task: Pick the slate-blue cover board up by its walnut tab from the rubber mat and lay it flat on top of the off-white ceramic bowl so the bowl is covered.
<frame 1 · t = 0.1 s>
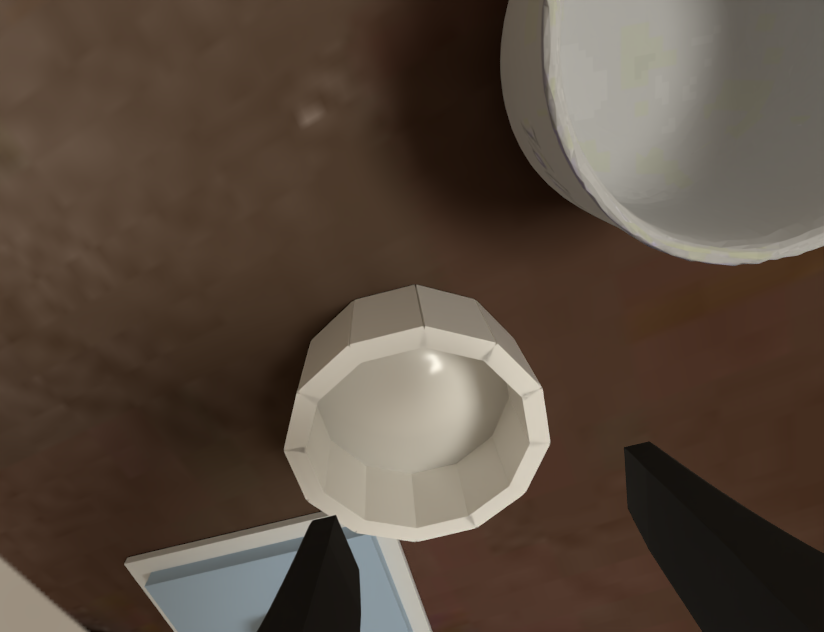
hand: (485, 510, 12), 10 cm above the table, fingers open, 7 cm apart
mat: (299, 610, 28), on the table
cover: (298, 616, 27), resting on mat
teacup: (662, 59, 17), on the table
bowl: (412, 389, 22), on the table
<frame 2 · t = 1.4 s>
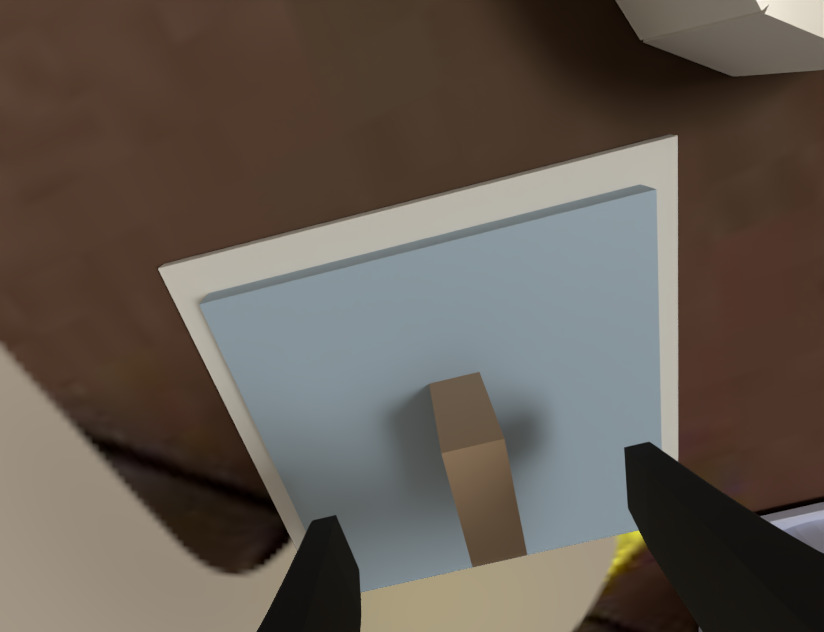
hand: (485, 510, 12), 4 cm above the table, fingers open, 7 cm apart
mat: (460, 408, 16), on the table
cover: (462, 415, 15), resting on mat
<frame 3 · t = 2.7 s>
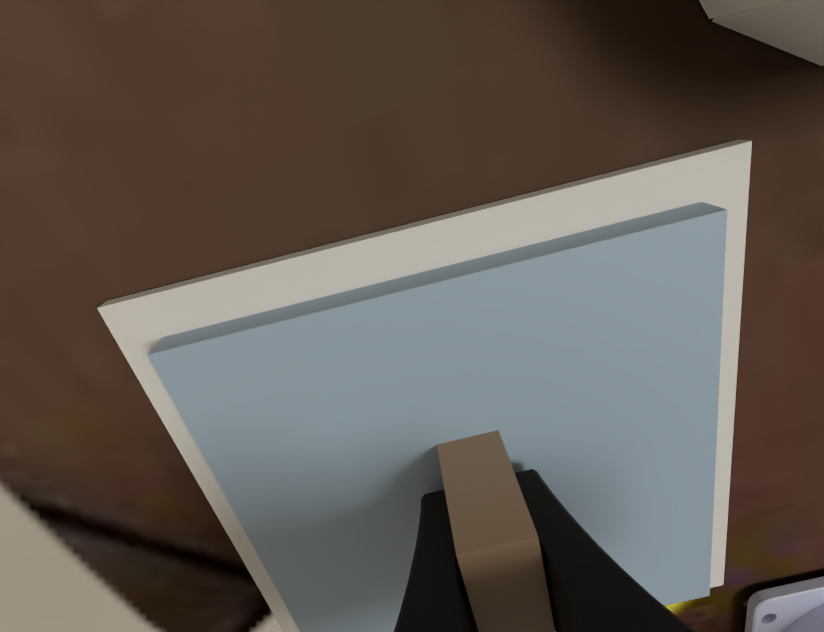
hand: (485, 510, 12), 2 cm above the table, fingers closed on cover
mat: (473, 465, 13), on the table
cover: (475, 475, 13), resting on mat, touching gripper
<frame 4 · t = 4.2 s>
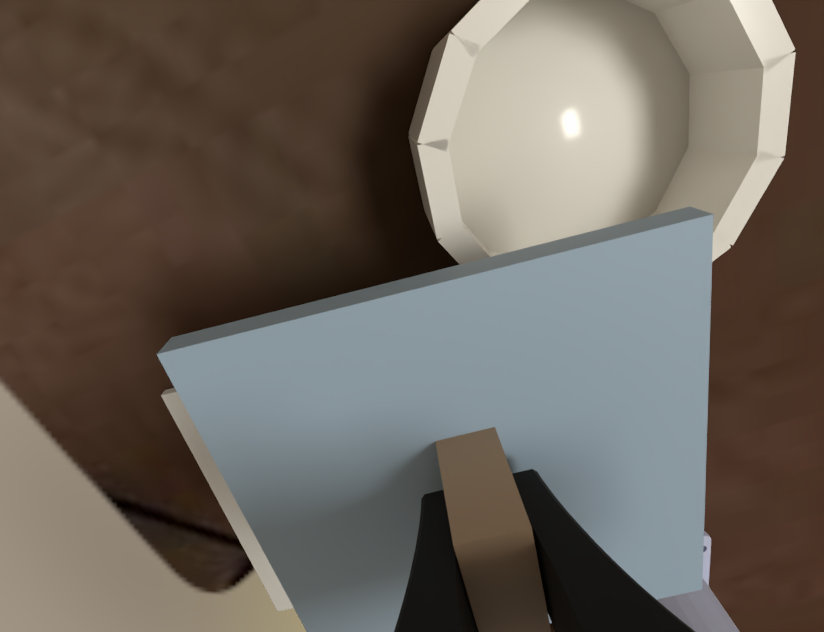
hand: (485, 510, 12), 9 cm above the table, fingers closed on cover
mat: (372, 478, 22), on the table
cover: (473, 471, 13), point 7 cm above the table, touching gripper
bowl: (555, 140, 16), on the table
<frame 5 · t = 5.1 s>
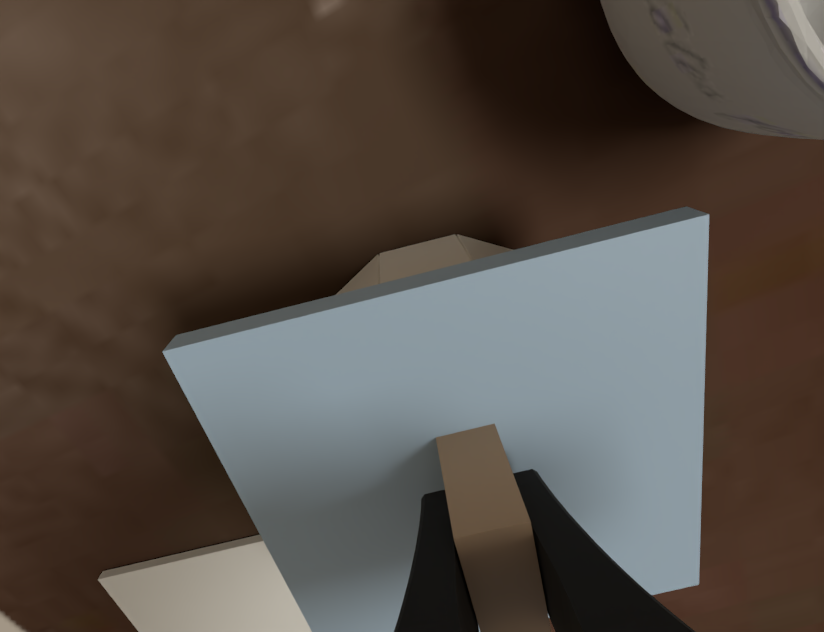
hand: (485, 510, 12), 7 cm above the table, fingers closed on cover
mat: (305, 631, 24), on the table
cover: (473, 467, 13), point 5 cm above the table, touching gripper
bowl: (447, 368, 18), on the table
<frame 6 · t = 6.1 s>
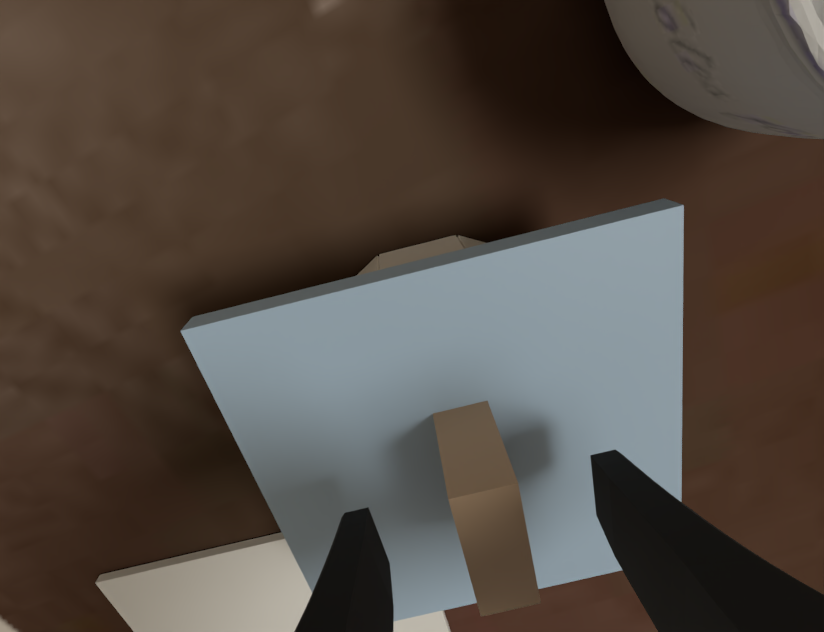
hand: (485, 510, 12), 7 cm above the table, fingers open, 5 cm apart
cover: (468, 444, 14), point 4 cm above the table, touching bowl
bowl: (447, 370, 18), on the table
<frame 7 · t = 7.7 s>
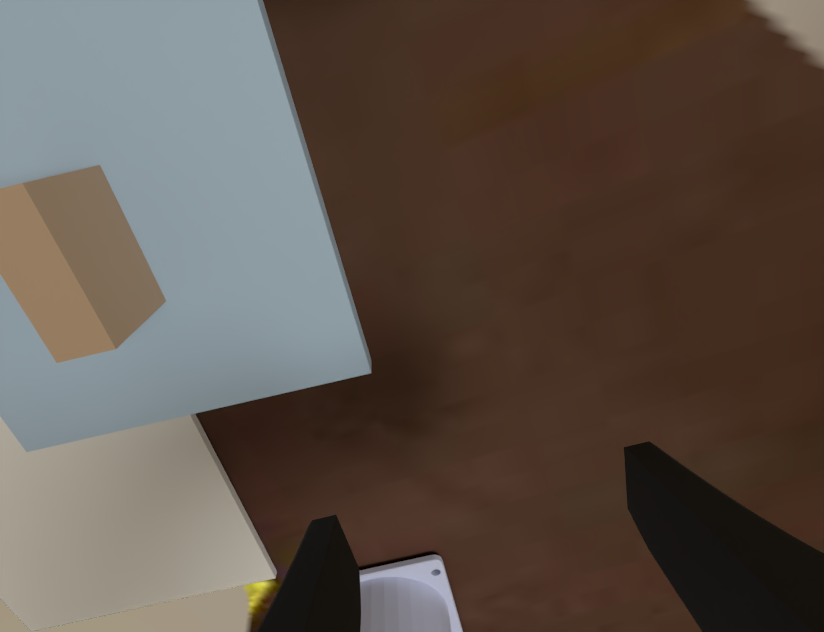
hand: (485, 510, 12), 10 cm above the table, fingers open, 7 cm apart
mat: (92, 508, 23), on the table
cover: (123, 235, 14), point 4 cm above the table, touching bowl
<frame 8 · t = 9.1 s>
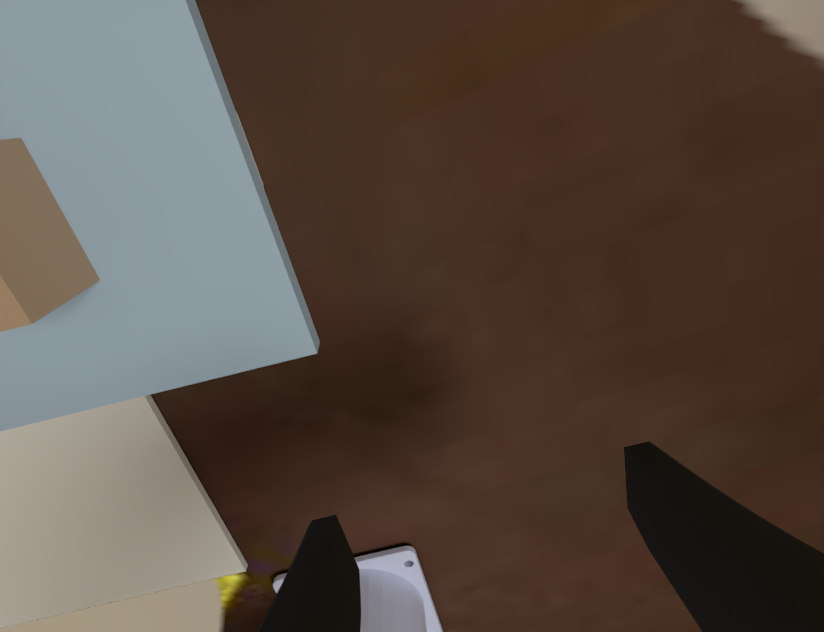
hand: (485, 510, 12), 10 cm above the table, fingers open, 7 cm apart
mat: (55, 501, 23), on the table
cover: (55, 213, 14), point 4 cm above the table, touching bowl
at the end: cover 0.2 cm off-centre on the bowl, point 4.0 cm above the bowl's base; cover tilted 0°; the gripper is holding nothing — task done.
